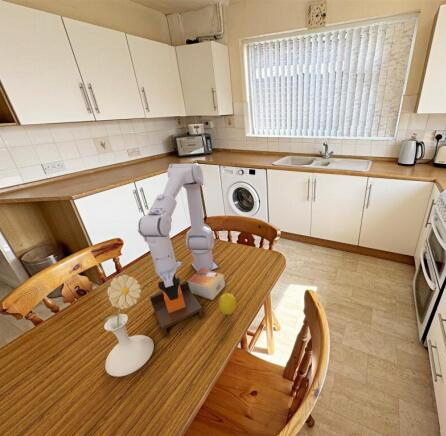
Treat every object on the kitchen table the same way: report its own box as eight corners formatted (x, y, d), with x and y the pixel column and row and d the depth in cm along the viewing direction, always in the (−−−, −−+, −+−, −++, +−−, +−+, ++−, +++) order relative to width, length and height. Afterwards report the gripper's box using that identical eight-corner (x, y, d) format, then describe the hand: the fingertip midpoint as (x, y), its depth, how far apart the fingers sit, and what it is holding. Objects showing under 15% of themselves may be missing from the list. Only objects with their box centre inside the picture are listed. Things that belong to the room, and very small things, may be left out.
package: (168, 313, 73) (164, 299, 71) (166, 304, 76) (162, 291, 74) (185, 307, 75) (182, 293, 73) (183, 298, 79) (179, 285, 76)
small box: (210, 288, 80) (186, 280, 84) (212, 300, 83) (189, 292, 87) (223, 274, 87) (200, 267, 91) (225, 285, 90) (203, 279, 93)
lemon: (240, 309, 78) (238, 291, 75) (231, 322, 74) (228, 303, 71) (227, 305, 81) (224, 286, 77) (216, 317, 76) (213, 298, 73)
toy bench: (155, 312, 79) (149, 296, 76) (190, 296, 85) (186, 280, 82) (164, 337, 70) (159, 320, 67) (203, 316, 76) (200, 300, 73)
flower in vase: (121, 389, 57) (83, 313, 46) (99, 365, 63) (59, 292, 52) (169, 347, 67) (146, 275, 56) (145, 329, 73) (120, 262, 62)
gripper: (180, 263, 63) (189, 301, 69) (175, 239, 75) (183, 273, 81) (151, 271, 61) (163, 310, 66) (150, 244, 73) (161, 280, 78)
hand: (173, 290), depth 74 cm, fingers open, 7 cm apart
